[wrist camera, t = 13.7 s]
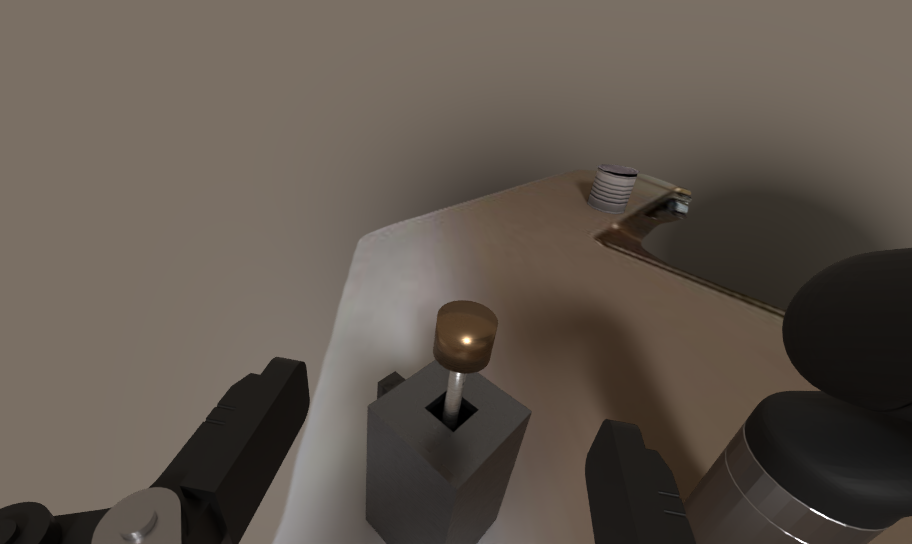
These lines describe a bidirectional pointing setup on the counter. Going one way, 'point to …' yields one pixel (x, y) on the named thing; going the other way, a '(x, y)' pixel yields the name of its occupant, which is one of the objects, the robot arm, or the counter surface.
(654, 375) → the counter surface
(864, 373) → the robot arm
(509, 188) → the counter surface
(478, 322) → the plunger
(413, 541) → the square hole block
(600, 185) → the can
